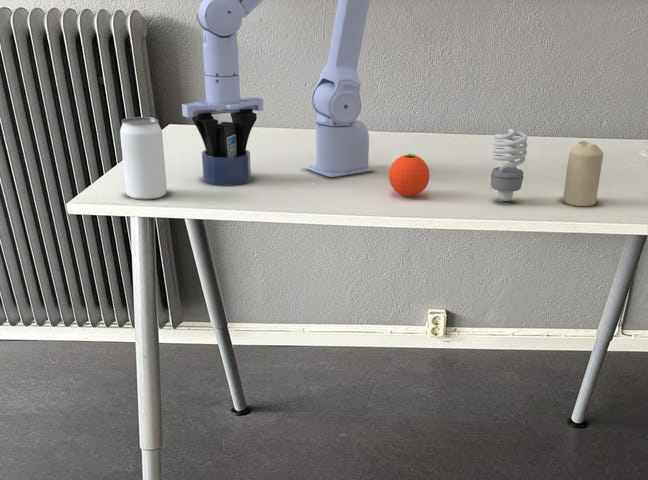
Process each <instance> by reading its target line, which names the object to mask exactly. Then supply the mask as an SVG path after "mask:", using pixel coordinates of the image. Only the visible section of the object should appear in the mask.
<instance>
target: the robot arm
mask: <svg viewBox="0 0 648 480" xmlns="http://www.w3.org/2000/svg"><path fill="white" fill-rule="evenodd" d="M263 1H264V0H202V1H201V2H200V4H199V8H198V10H197V13H196V15H195V16H196V20H197V23H198V25H199V26H200V28H201V29H202V55H203V70H204V73H203V74H204V87H205V100H200V101H195V102H190V103H182V104H181V112H182V117H184V118H187V119H191V121H192V122H193V123H194V125H195V127H196V129H197V131H198V132H199V135H200V137H201V139H202V142H203V145H204V148H205V150H206V152H207V155H209V156H214V157H217V144H216V135H217V126H218V124H219V119H216V118H214V116H213V115H220V114H221V115H223V114H230V117H231V118H230V119H231V122H234V123H237V132H238V154H240V155H245V151H246V150H247V145H248V140H249V138H250V134H251V131H252V129H253V127H254V124H255V123H256V122H257V118H258V117H257V113H256V112H254V111H257V112H260V111H264V99H263V98H261V97H241V87H240V85H241V84H240V62H239V61H240V60H239V46H238V31H239V30H240V29H241V26H242V23H243V19H244V18H246V17H247V16H248V15H250V14H251V12H252V11H254V10H255V9H256V8H257V7H258V6H259V5H260V4H261V3H262V2H263ZM370 1H371V0H337V6H336V12H335V17H334V23H333V29H332V35H331V42H330V46H329V51H328V58H327V62H326V65H325V66H324V67H323V68H322V70H321V72H320V74H319V79H318V82H317V83H316V85H315V86H314V88H313V90H312V91H311V96H310V102H311V105H312V108H313V110H314V111H315V112H316V113H317V115H316V118H315V164H314V165H313V164H312V165H307V166H306V170H308V171H312V172H315V173H317V174H320V175H322V176H325V177H328V178H337V177H343V176H344V177H345V176H349V175H356V174H361V173H362V174H363V173H368V172H371V171H372V168H370V167H369V158H370V157H369V153H370V152H369V151H370V149H369V148H370V134H369V130H368V128H367V126H366V124H365V122H363V121H361V120H358V119H357V118H358V117H359V116H360V114H361V111H362V100H361V93H360V90H361V80H360V77H359V75H358V70H357V69H358V65H359V64H358V63H359V59H360V54H361V48H362V43H363V37H364V33H365V27H366V22H367V18H368V17H367V16H368V11H369V7H370Z"/></svg>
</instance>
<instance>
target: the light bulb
mask: <svg viewBox="0 0 648 480" xmlns="http://www.w3.org/2000/svg"><path fill="white" fill-rule="evenodd" d="M494 139H495V140H493V142H492V145H493V146H494V147H493V148H492V150H491V151H492V153H493V155H492V156H491V157H492V160H494V161H498V162H499V161H500V162H501V161H502V162H504V163H503V164H501V165H500V166H497V167H494V168H492V169H491V172H490V187H491V188H492V189H493V190H495V191H497V198H498V199H499V200H500V201H501V202H503V203H507V202H509V201H510V200H511V199H513V195H514V192H518V191H520V190H521V189H522V186H523V181H524V171H523V169H520V168H518V166H520V165H522V164H524V163H525V161H526V155H527V154H528V150H527V148H528V142H527V141H528V135H527V134H526V133H524V132H521V131H519V130H515V129H512V128H508V129H507V133H506V134H505V133H504V134H503V133H496V134H494ZM504 140H508V141H504ZM504 147H505V148H504ZM506 147H507V148H506ZM515 160H516V161H515ZM505 161H506V162H505Z"/></svg>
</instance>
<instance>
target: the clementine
mask: <svg viewBox="0 0 648 480" xmlns="http://www.w3.org/2000/svg"><path fill="white" fill-rule="evenodd" d="M430 176H431V175H430V169H429V166H428V164H427V163H426V161H425V160H424V159H423V158H422V157H420V156H418V155H416V153H406V154H403V155H400V156H399V157H398V158H396V159H395V160H394V161H393V162H392V163H391V165H390V168H389V171H388V181H389V184H390V186H391V188H392V189H393V190H394V191H395V192H396V193H397V194H399V195H400V196H403V197H409V198H410V197H415V196H417V195H419V194H421V193H422V192H423V191H424V190H426V188H427V187H428V184H429V183H430Z"/></svg>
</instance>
